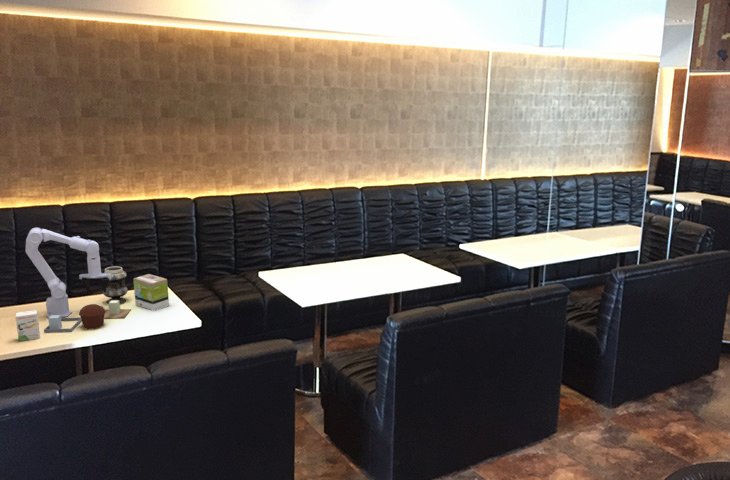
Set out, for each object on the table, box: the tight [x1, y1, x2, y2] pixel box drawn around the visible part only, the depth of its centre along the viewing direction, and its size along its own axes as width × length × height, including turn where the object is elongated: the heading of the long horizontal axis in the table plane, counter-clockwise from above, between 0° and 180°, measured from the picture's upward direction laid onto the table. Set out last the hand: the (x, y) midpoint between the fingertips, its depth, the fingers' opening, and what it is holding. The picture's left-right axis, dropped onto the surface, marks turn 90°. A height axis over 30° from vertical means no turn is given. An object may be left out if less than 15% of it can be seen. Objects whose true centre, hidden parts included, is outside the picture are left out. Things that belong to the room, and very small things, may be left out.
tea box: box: [132, 273, 170, 312], centre depth 323 cm, size 15×10×15 cm
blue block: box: [47, 315, 63, 329], centre depth 292 cm, size 4×4×6 cm
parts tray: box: [43, 316, 82, 334], centre depth 296 cm, size 12×15×2 cm
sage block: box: [108, 300, 121, 315], centre depth 311 cm, size 4×4×6 cm
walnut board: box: [104, 308, 132, 320], centre depth 312 cm, size 12×12×1 cm
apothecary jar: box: [101, 265, 129, 305], centre depth 329 cm, size 12×12×18 cm
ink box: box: [15, 309, 41, 342], centre depth 281 cm, size 8×5×12 cm, turn 119°
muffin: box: [78, 303, 106, 330], centre depth 296 cm, size 12×11×10 cm
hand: (96, 292), depth 316 cm, fingers open, 7 cm apart
